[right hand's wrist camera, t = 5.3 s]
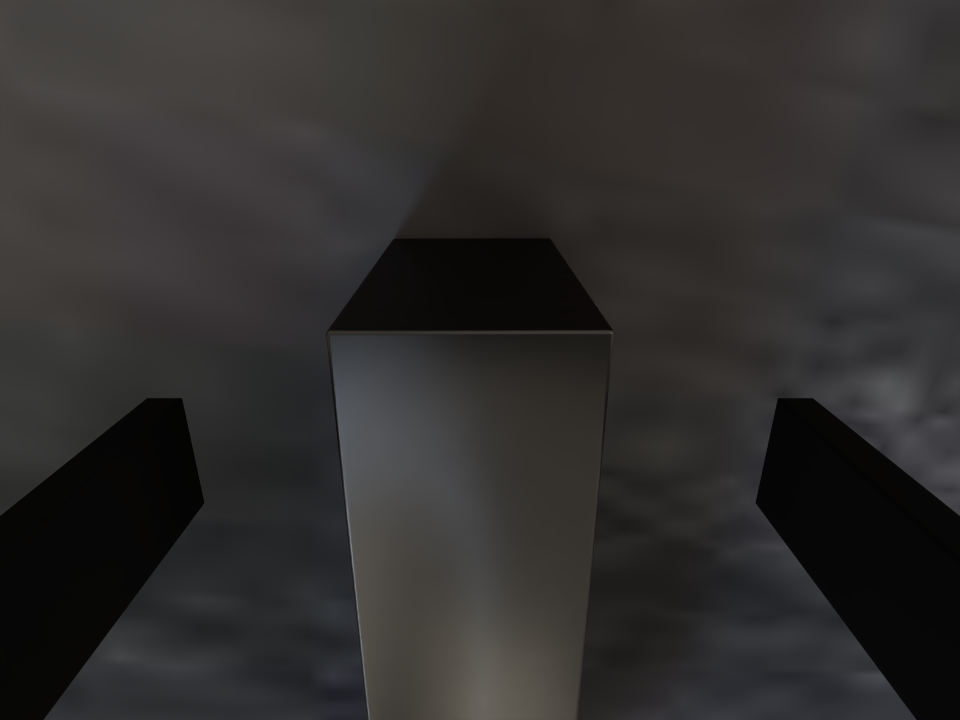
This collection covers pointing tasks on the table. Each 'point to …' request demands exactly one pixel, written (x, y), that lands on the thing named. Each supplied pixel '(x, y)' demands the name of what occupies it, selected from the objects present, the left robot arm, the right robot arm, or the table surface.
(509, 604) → the bar
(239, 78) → the table surface
